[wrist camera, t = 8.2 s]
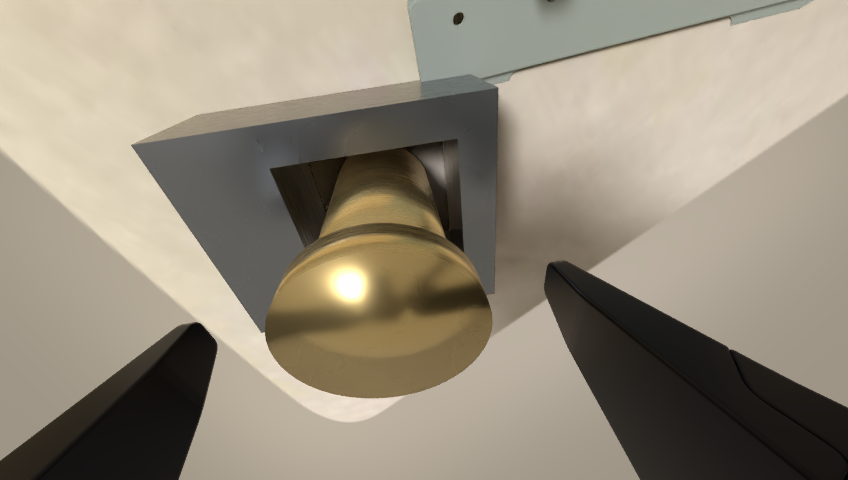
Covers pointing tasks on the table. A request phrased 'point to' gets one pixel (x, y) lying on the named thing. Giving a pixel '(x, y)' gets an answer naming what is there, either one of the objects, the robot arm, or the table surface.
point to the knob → (379, 289)
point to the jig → (293, 182)
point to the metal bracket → (552, 29)
